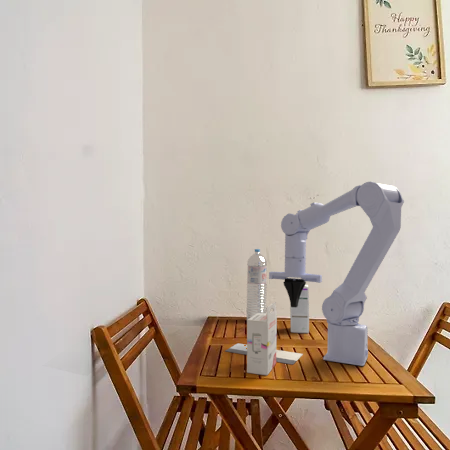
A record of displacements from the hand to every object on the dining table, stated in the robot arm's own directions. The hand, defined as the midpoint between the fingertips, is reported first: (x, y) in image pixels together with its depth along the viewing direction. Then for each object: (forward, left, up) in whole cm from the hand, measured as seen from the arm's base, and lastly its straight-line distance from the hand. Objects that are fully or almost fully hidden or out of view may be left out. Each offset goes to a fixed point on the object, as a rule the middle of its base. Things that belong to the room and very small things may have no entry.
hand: (294, 306), depth 109 cm
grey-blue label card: (+10, +11, -10) cm, 18 cm away
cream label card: (0, +12, -10) cm, 16 cm away
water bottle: (+20, -22, -11) cm, 31 cm away
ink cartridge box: (+1, +22, -11) cm, 25 cm away
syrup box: (+3, -16, -11) cm, 19 cm away
